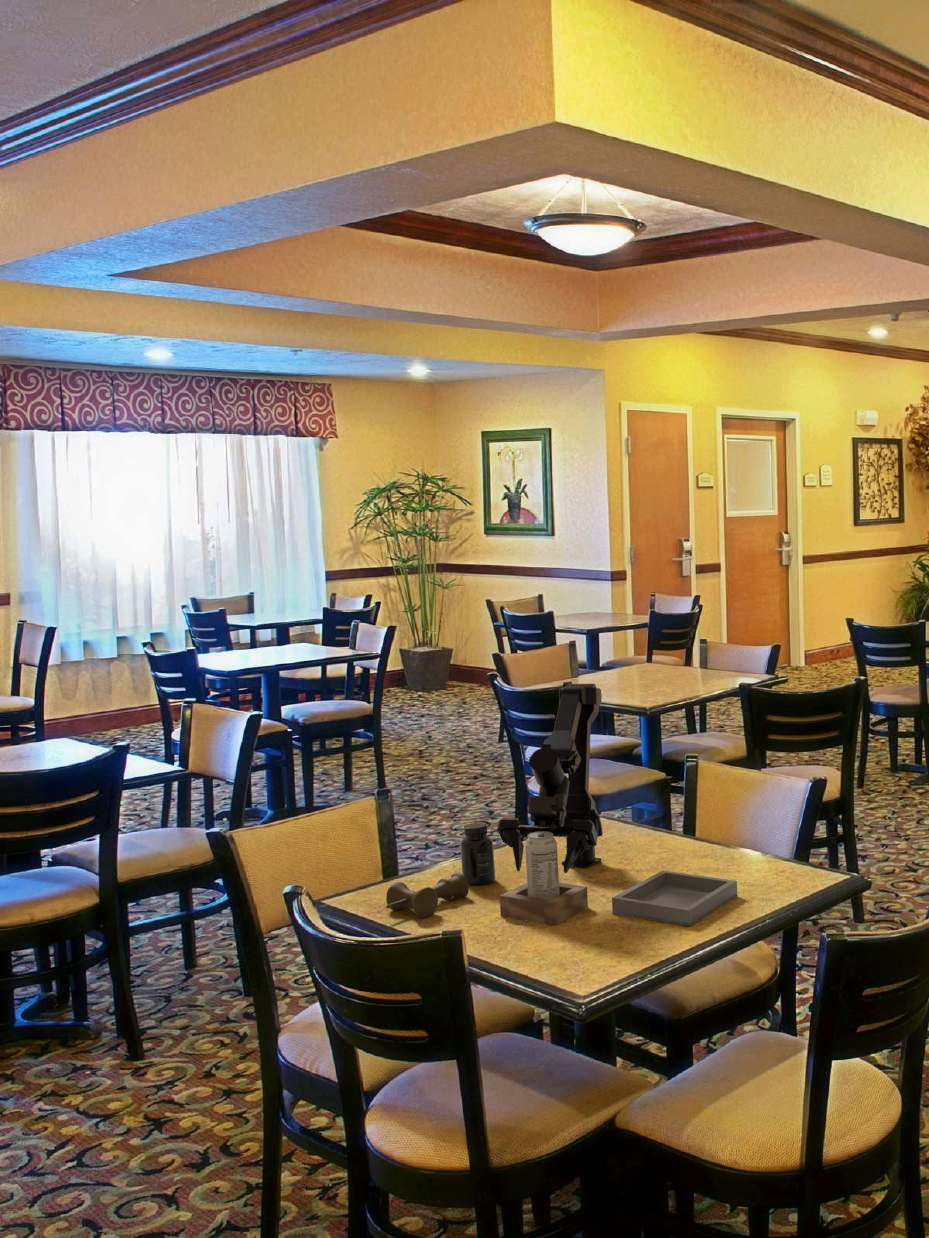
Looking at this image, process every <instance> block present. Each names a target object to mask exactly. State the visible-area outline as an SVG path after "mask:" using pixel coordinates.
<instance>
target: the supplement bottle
mask: <svg viewBox="0 0 929 1238" xmlns="http://www.w3.org/2000/svg"><path fill="white" fill-rule="evenodd" d="M463 831H464V832H463V835H464V836H465V837H464V838H463V839H461V842H460V844H459V845H460V846H459V847H460V855H461V856H460V858H461V871H462V873H461V874H463V875H464V876H465V877H466V878H467V880H468V883H469V887H471V886H472V887H479V886H480V887H482V886H487V885H491V884H493V883H494V882H495V881H496V869H495V867H496V865H495V853H494V841H493V840H492V838H491V837H490V836H488V833H489V831H488V825H487V824H486V823H483V822H473V823H467V824H465V825H464V826H463Z"/></svg>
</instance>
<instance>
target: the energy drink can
mask: <svg viewBox="0 0 929 1238" xmlns="http://www.w3.org/2000/svg"><path fill="white" fill-rule="evenodd" d="M524 848H525V863H526V865H525V866H526V868H525V869H526V883H527V887H528V896H529V897H534V898H540V899H546V900H551V899H553V898H555V897H557V896H559V895H560V894H559V883H560V879H559V877H560V875H559V859H558V855H559V854H558V843H557V840H556V839H555V837H553V833H551V832H545V831H539V832H533V833H530V834H528V836H527V839H526V841H525V843H524Z"/></svg>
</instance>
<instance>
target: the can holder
mask: <svg viewBox="0 0 929 1238" xmlns="http://www.w3.org/2000/svg"><path fill="white" fill-rule="evenodd" d="M559 894H560V895H559V896H557V897H555V898H553V899H551V900H546V899H540V898H534V897H529V896H528V887H527V882H526V883H523V884H521V885H518V886H516V887H515V888H513V889H511V890H508V891H506V892H504V893H502V894H500V895H499V907H500V908H499V909H500V911H499V912H500V917H504V918H508V917H509V919H514V918H515V920H519V921H525V920H527V921H526V922H530V923H531V921H532V923H537V924H540V925H548V926H552V927H555V926H556V925H558V924H560V923H561V922H564V921H566V920H567V919H569V918H572V917H573V916H574V915H577V914H578V913H580V912H582V911H584V910H586V909H588V908H589V899H588V898H589V897H588V886H582V885H577V884H571V883H564V882H559Z"/></svg>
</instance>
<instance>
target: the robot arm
mask: <svg viewBox="0 0 929 1238" xmlns="http://www.w3.org/2000/svg"><path fill="white" fill-rule="evenodd" d="M602 696H603V695H602V690H601V688H599V687H597V685H596V683H567V684H566V686H563V687H561V688H560V687H559V688H558V700H559V701H558V709H557V712H556V713H557V714H556V718H555V722H554V726H553V730H552V734H551V735H550V736H548V737H547V738H546V739H544V742H543V743H541V745H540V746H541V747H540V748H538V749H537V750H535V751H533V753H532V754H531V756H530V757H529V760H528V763H529V766H530V769H531V771H532V774H533V776H534V779H535V781H536V783H537V785H539V790H538V796H537V795H536V796H535V795H533V796H532V795H531V796H528V808H527V809H528V810H527V814H530V817H529V819H530V821H531V822H533V825H525V824H524V825H523V824H522V822H521V819H520V818H518V817H516V818H515V817H502V818H501V819H500V820H499V821H498V823H497V829H496V830H497V832H498V834H499V836H500V838H501V841H502V843H503V844H506V845H508V847H509V848H512V851H513V852H512V853H513V857H514V858H513V859H514V863H515V867H516V869H515V870H516V871H517V872H520V871H521V868H522V862H523V856H524V848H525V844H524V843H523V842H524V840H525V837H526V836H527V837H528V834H530V833H533V832H539V831H545V832H551V833H553V837H554V838H555V837H556V838H565V839H566V845H565V848H566V854H565V858H564V860H563V861H561V865H563V872H564V873H565V874H566V873H568V872H569V870H570V868H571V867H576V868H581V869H582V868H584V869H587V868H589V867H591V866H594V865H596V864H598V863H600V862H602V858H600V857H596V846H597V845H598V838H599V837H603V825H602V821H601V816H600V815H599V811H598V809H597V808H596V801H595V800H594V798H593V797H592V795H591V793H590V791H589V788H590V786H589V785H590V783H589V782H590V761H591V760H590V759H591V758H590V756H591V728H592V727H591V726H592V724H593V722H594V720H595V719H596V718H597V717H598V715H599V709H600V705H601V704H602ZM566 774H567V775H568V777H567V775H566Z"/></svg>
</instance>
